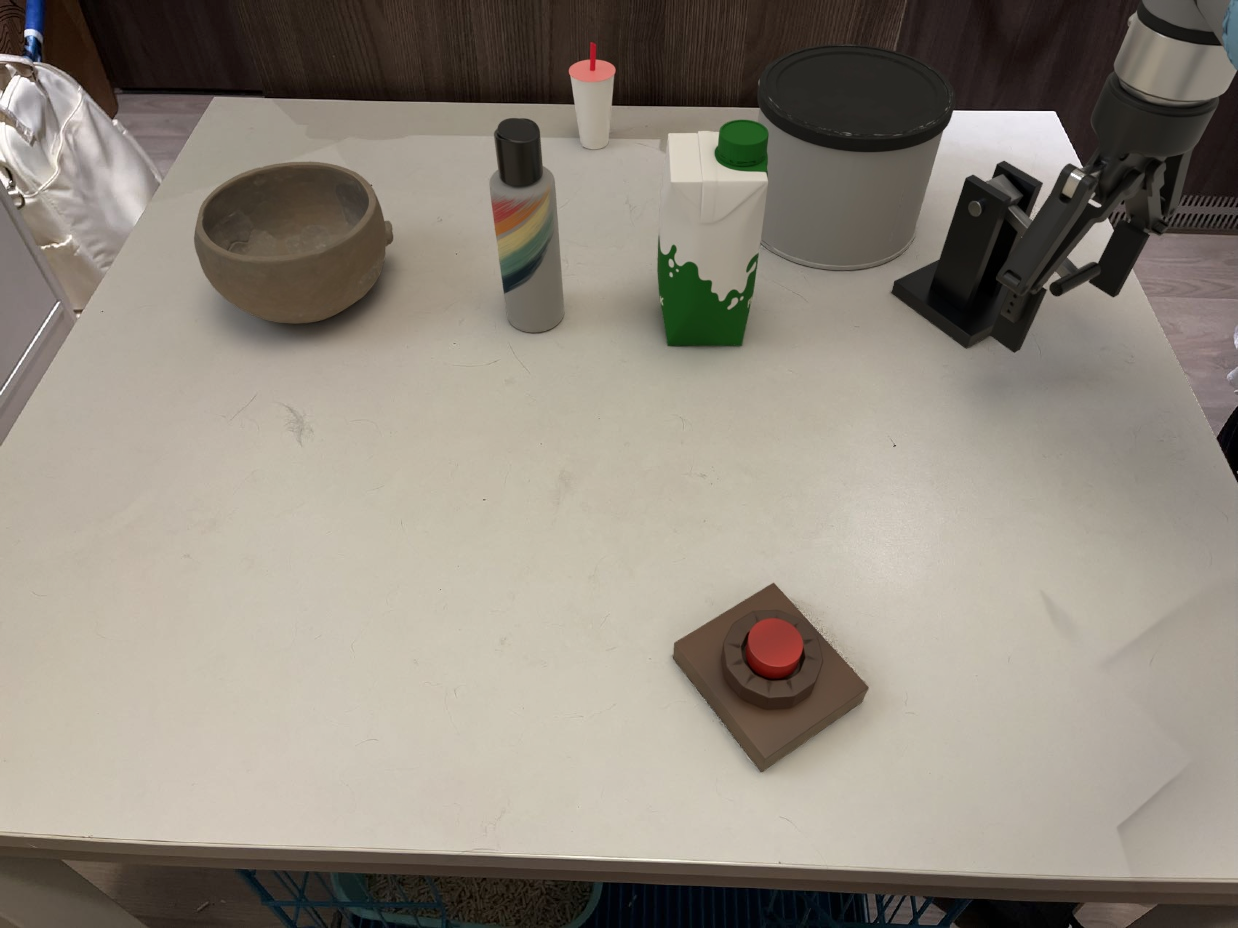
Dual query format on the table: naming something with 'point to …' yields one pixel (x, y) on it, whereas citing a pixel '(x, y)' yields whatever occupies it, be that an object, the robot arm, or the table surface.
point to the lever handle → (1021, 222)
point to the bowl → (293, 240)
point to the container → (848, 152)
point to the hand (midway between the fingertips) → (1055, 315)
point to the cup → (593, 99)
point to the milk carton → (711, 232)
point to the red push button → (774, 648)
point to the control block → (768, 679)
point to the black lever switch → (970, 260)
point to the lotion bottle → (526, 228)
